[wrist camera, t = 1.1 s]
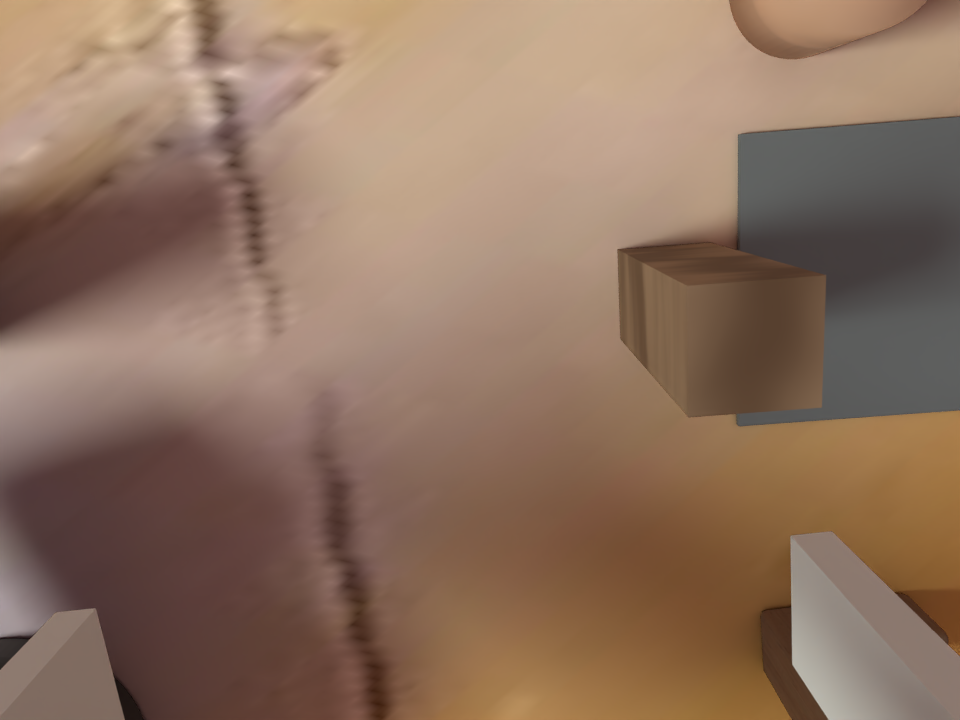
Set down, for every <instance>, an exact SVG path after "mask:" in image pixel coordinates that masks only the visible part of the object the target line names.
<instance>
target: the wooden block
mask: <svg viewBox="0 0 960 720" xmlns="http://www.w3.org/2000/svg"><path fill="white" fill-rule="evenodd" d="M896 595H897V596H898V597H899V598H900V599H901V600H903V601H904V602H905V603H906V604H907V605H908V606H909V607H910V608H911V609H912V610H913V611H914V612H915V613H916V614H917V615H918V616H919V617H920V618H921V619H922V620H923V621H924V622H925V623H926V624H927V625H928V626H929V627H930V628H931V629H932V630H933V631H934V632H935V633H936V634H937V635H938V636H939V637H940V638H941V639H942V640H943V641H944V642H945V643H946V644H947V645H948V637H947V635H946V633H945V631H944V630H943V629H941V628H940V627H939V626H938V625H937V624H936V623H935V622H934V621H933V620H932V619H931V618H930V617H929V616H928V615H927V614H926V613H925V612H924V611H923V610H922V609H921V608H920V607H919V606H918V605H917V604H916V603H915V602H914V601H913V600H912V599H911V598H910V597H909V596H907V595H905V594H896ZM761 632H762V650H763V668H764V672H765V673H766V675H767V677H768V679H769V680H770V682H771V684H772V686H773V687H774V689H775V691H776V693H777V694H778V696H779V698H780V700H781V701H782V703H783V705H784V707H785V708H786V710H787V712H788V714H789V715H790V717H791V719H792V720H828V718H827V716H826V715H825V713H824V712H823V710H822V709H821V707H820V706H819V704H818V703H817V701H816V700H815V698H814V697H813V695H812V694H811V692H810V691H809V689H808V688H807V686H806V685H805V683H804V682H803V680H802V679H801V677H800V676H799V674H798V672H797V671H796V669H795V668H794V666H793V665H792V611H791V607H788V608H780V609H772V610H765V611H763V612H762V613H761Z"/></svg>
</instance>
